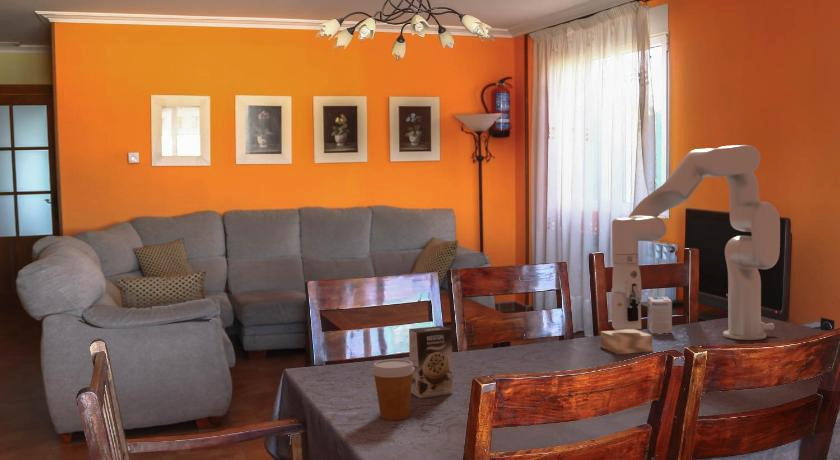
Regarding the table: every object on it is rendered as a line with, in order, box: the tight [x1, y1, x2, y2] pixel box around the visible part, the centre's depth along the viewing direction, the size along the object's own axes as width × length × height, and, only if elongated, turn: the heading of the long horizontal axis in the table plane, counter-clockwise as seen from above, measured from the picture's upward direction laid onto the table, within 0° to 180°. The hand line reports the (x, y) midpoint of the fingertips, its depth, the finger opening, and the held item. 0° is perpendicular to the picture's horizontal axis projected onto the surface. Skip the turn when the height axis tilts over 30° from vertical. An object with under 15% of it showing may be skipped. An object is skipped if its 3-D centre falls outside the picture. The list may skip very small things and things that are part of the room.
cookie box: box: [408, 325, 454, 399], centre depth 207 cm, size 9×6×16 cm
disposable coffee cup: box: [371, 358, 415, 421], centre depth 188 cm, size 10×10×12 cm
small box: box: [610, 291, 642, 330], centre depth 251 cm, size 8×6×10 cm
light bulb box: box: [647, 296, 673, 334], centre depth 276 cm, size 11×7×11 cm, turn 172°
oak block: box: [600, 329, 653, 355], centre depth 251 cm, size 11×11×5 cm
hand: (626, 318), depth 251 cm, fingers closed on small box, 7 cm apart
